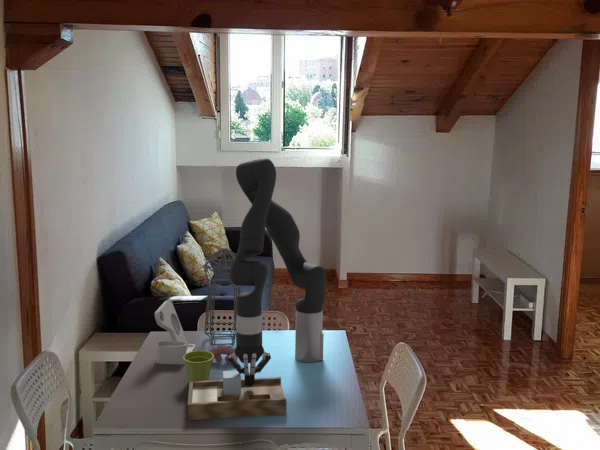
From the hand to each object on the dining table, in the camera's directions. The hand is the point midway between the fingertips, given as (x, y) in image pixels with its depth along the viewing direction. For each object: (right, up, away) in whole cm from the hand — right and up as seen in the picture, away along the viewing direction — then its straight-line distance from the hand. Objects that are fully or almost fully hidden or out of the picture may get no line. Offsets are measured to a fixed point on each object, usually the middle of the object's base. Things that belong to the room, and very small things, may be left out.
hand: (249, 385), depth 178 cm
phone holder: (-28, +2, +34) cm, 44 cm away
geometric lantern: (-13, +4, +48) cm, 50 cm away
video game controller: (-11, 0, +27) cm, 29 cm away
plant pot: (-17, -2, +12) cm, 21 cm away
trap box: (-3, -5, -3) cm, 6 cm away
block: (-5, -1, -1) cm, 5 cm away
